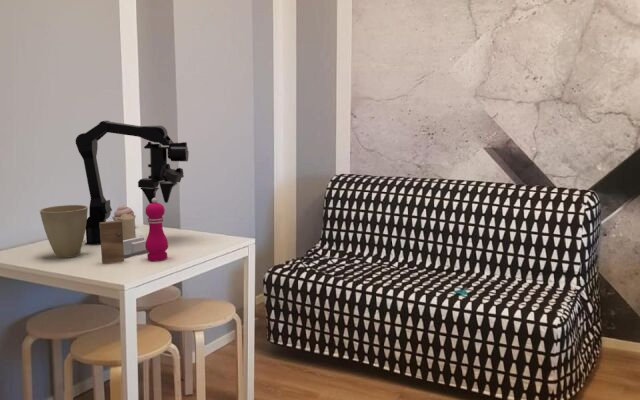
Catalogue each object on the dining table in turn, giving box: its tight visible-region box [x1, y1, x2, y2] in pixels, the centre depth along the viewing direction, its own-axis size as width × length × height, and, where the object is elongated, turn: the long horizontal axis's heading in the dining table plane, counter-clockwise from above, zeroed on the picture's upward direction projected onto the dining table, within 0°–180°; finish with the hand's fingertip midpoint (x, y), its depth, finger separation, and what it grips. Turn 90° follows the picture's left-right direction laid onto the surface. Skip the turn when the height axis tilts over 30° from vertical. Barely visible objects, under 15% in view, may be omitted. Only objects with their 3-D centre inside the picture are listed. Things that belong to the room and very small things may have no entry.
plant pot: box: [39, 204, 89, 258], centre depth 227 cm, size 15×15×16 cm
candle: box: [119, 214, 137, 240], centre depth 249 cm, size 6×6×10 cm
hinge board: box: [123, 236, 149, 259], centre depth 232 cm, size 8×18×4 cm, turn 142°
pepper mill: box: [144, 197, 169, 262], centre depth 221 cm, size 7×7×20 cm
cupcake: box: [111, 203, 137, 221], centre depth 272 cm, size 9×9×10 cm
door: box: [99, 220, 125, 265], centre depth 217 cm, size 4×6×13 cm, turn 117°
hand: (159, 204), depth 245 cm, fingers open, 9 cm apart
